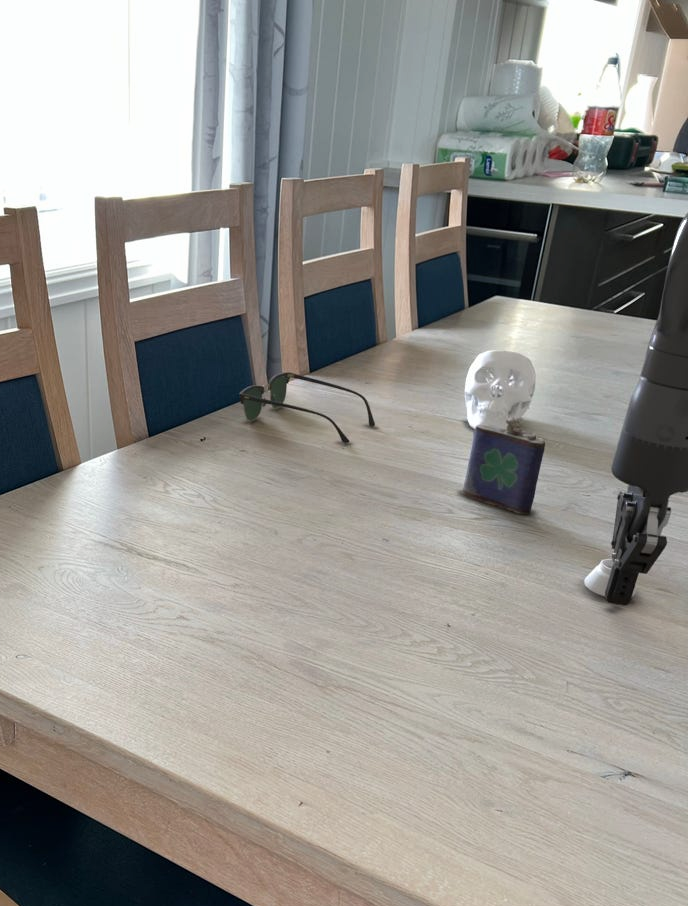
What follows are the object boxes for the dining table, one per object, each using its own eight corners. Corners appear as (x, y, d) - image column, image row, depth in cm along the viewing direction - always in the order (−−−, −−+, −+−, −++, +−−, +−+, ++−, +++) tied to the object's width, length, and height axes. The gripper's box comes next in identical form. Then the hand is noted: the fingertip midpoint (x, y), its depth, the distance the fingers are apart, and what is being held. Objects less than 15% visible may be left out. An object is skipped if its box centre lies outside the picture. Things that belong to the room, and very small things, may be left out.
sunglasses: (340, 449, 136) (344, 414, 134) (233, 425, 143) (236, 391, 140) (382, 422, 149) (387, 389, 146) (283, 401, 156) (286, 369, 153)
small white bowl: (637, 605, 98) (630, 584, 102) (645, 578, 97) (638, 558, 101) (586, 597, 99) (581, 577, 103) (593, 571, 98) (588, 551, 102)
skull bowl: (453, 422, 146) (470, 343, 146) (454, 448, 159) (470, 375, 160) (525, 432, 143) (542, 351, 143) (520, 458, 156) (536, 384, 157)
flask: (458, 493, 123) (475, 410, 118) (470, 488, 125) (487, 406, 120) (524, 516, 118) (544, 430, 113) (536, 510, 120) (556, 425, 114)
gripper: (728, 459, 81) (667, 638, 90) (696, 416, 93) (645, 579, 101) (634, 447, 83) (583, 625, 91) (614, 406, 94) (570, 568, 103)
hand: (616, 600), depth 96 cm, fingers closed
